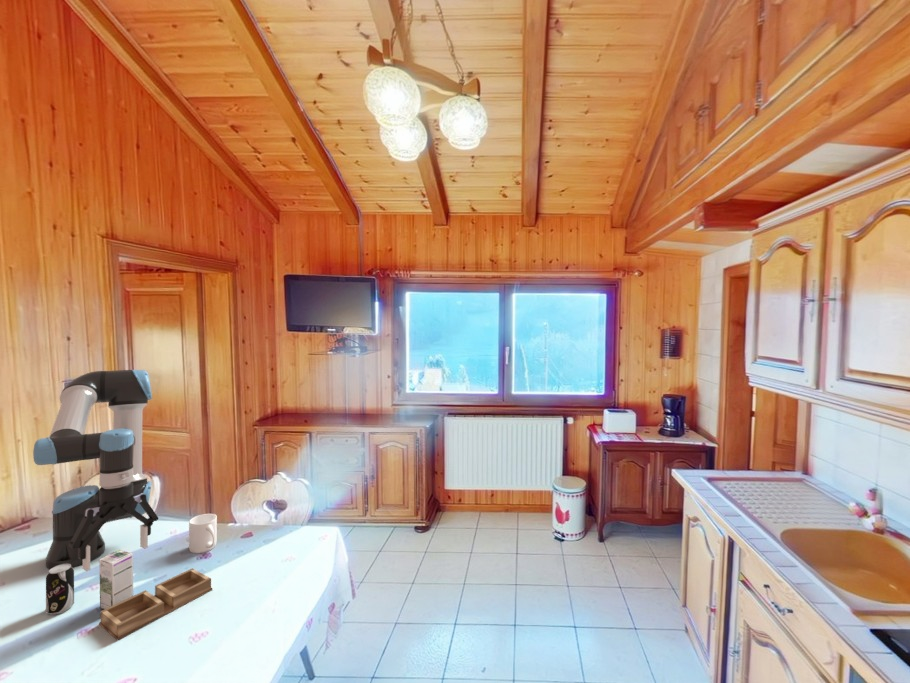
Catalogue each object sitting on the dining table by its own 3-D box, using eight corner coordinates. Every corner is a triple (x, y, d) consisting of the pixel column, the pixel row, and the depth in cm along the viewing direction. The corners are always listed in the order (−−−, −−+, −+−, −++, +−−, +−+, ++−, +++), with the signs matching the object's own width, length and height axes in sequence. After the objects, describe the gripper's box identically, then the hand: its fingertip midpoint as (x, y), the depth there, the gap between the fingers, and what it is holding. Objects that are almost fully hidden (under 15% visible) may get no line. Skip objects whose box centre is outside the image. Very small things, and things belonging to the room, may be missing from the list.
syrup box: (134, 600, 120) (134, 552, 119) (111, 613, 114) (111, 562, 114) (121, 596, 122) (121, 548, 121) (98, 609, 116) (98, 558, 116)
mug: (200, 559, 142) (200, 529, 141) (184, 549, 148) (184, 520, 148) (225, 549, 149) (226, 520, 148) (209, 539, 155) (209, 511, 155)
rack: (99, 624, 110) (99, 611, 110) (192, 578, 131) (192, 567, 131) (117, 640, 105) (117, 626, 104) (212, 589, 125) (212, 578, 125)
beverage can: (41, 618, 112) (41, 575, 111) (52, 605, 117) (52, 564, 117) (68, 613, 114) (68, 571, 114) (77, 600, 119) (77, 560, 119)
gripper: (64, 502, 104) (64, 584, 105) (171, 474, 126) (171, 542, 126) (53, 496, 108) (53, 575, 108) (158, 470, 130) (158, 536, 130)
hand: (116, 557), depth 117 cm, fingers open, 13 cm apart
